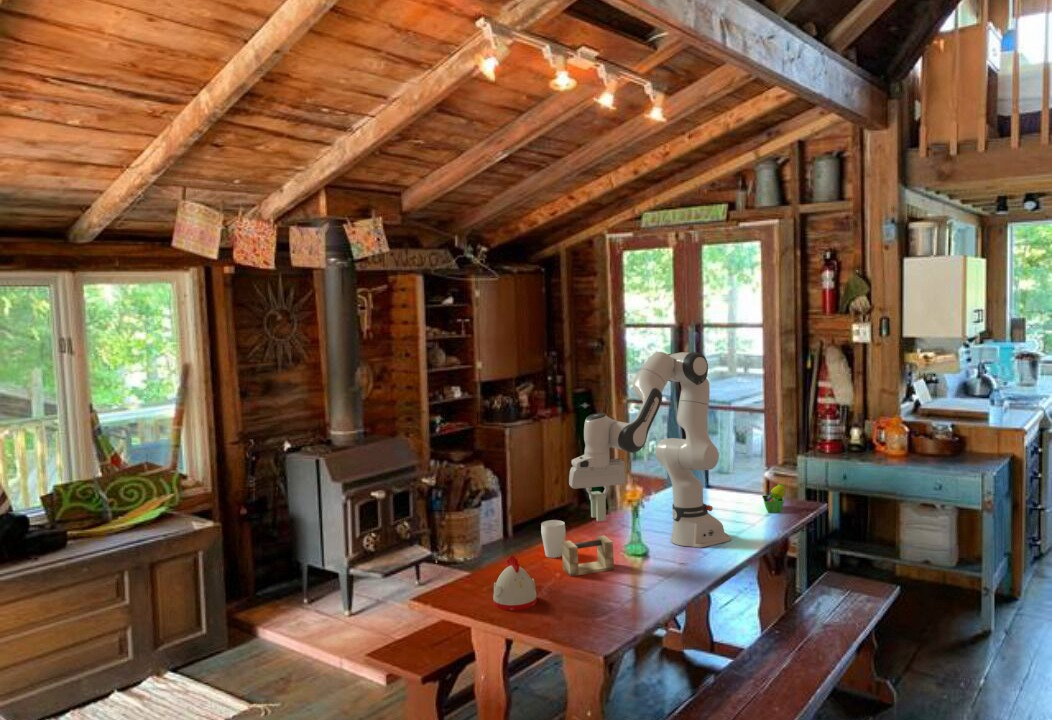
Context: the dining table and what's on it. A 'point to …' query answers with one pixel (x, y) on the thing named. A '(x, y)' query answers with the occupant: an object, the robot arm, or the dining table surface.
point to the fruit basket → (775, 499)
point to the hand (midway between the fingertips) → (597, 498)
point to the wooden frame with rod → (601, 565)
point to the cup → (553, 537)
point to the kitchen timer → (514, 588)
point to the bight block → (598, 506)
